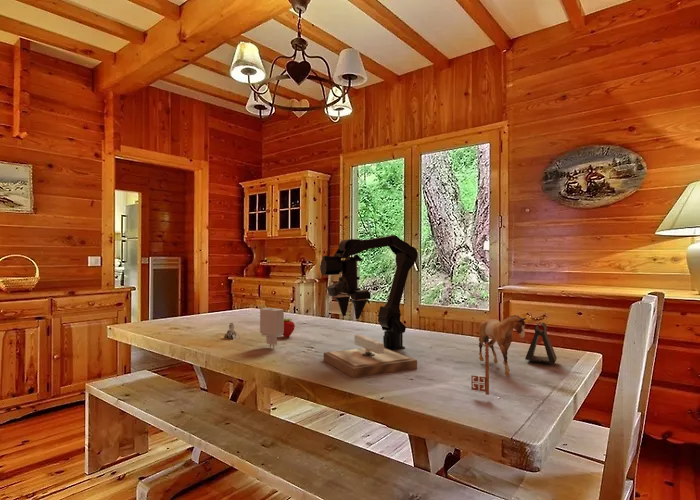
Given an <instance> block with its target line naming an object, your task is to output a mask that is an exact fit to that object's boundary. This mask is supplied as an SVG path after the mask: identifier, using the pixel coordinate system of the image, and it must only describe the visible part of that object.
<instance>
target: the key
mask: <svg viewBox="0 0 700 500" xmlns="http://www.w3.org/2000/svg"><path fill="white" fill-rule="evenodd" d="M484 335H488V336H491V337H492V338H493V340H494V342H493V344H491V345H488V342H486V344H485V343H484V342H483V343H482V342H481V337H482V336H484ZM478 342H479V343H481V344H482V345H483V346H484V347H485V349H484V350H485V353H484V357H485V359H484V362H485V363H484V365H485V366H484V367H485V369H484V370H485V371H484V372H485V376H479V375H473V374H472V375H471V377H470V380H471V388H470V389H471V390H472V391H480V392H485V395H487V396H489V395H490V352H489V349H490V348H489V346H492V345H493V346H494V345H495V343H496V342H495V338H494V337H493V336H492V335H490V334H483V335H481V336H480V335H479V337H478Z"/></svg>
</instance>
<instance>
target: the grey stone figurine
mask: <svg viewBox="0 0 700 500" xmlns="http://www.w3.org/2000/svg"><path fill="white" fill-rule="evenodd" d="M234 325H235V324H234V322H229V325H228V326H229V327H228V328H229V329H227V332H226V333H225V334H224V338H226V339H227V338H228V339H230V340H238V339H240V337H239V336H240V335H239V332H238V331H236V330H235V326H234Z"/></svg>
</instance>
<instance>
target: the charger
mask: <svg viewBox="0 0 700 500" xmlns="http://www.w3.org/2000/svg"><path fill="white" fill-rule="evenodd" d="M284 312H285V311H284V309H283V308H273V307H264V308H263V307H262V308H260V309H259V333H260V334H261V335H262V336H266V341H265V342H266V344H268V345H269V348H270V349H271V348H272V349H275V346H276V345H278V337H282V336H283V333H284V319H285V318H284V317H285V313H284Z"/></svg>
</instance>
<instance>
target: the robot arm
mask: <svg viewBox="0 0 700 500" xmlns="http://www.w3.org/2000/svg"><path fill="white" fill-rule="evenodd" d="M384 247H389V249H390V251H391V252H392V253H393V254H395V265H396V266H395V267H396V269H395V271H394V272H395V273H394V276H393V280H392V284H391V288H390V290H389V294H388V299H387V302H386V303H385V305H380V307H379V309H378V313H377V321H378V324H379V325H380V326H381V329H382V331H384V332H383V334H384V335H383V338H382V341H383V342H382V343H384V348H387V349H389V350H392V351H394V350H401V349H406V346H403V345H404V344H403V343H404V341H403V340H404V338H403V337H404V336H403V334H404V333H406V328H407V327H406V325H404V324H403V322H402V321H401V315H402V314H401V309H400V308H401V307H400V306H401V301H402V298H403V294H404V290H405V286H406V283H407V279H408V276H409V275H408V274H409V273H410V270H411V269H412V267H413V266H414V265H415V263H416V261H417V259H418V255H419V252H418V251H417V248H416V247H415V246H412V245H410V244H409V243H408V242H406V241H405V240H402V239H401V238H400V237H399V236H397V235H395V234H391V235H386V236H381V237H373V238H368V239H357V238H349V239H348V238H347V239H343V240H341V241H340V242H339V244H338V248H337V249H336V251H335V253H334V254H333V255H331V256H330V255H322V259H321V261H320V265H319V270H320V271H319V272H320V273H321V276H336V275H340V274H341V276H339V277H338V281H337V282H334V283H332V284H330V285H328V286H326V290H327V292H328V296H330V297H332V298H333V299H334V300H335V301H336V302H337V303H338V307H339V310H340V312H341V315H342V317H346V315H347V311H348V308H349V307H348V306H349V302H351V303H352V304H353V311H354V317H355V320H360V317H361V315H362V312H363V310H364V308H365V307H366V304H367V302H368V301H369V299H370V300H371V298H372V296H371V295H372V294H371V292H370V291H369V290H366V289H361V288H360V287H358V286H359V285H358V280H361V277H360V276H358V262H362V261H363V258H361V257H360V256H359V254H360V253H362V252H365V251H367V250H373V249H378V248H379V249H380V248H384Z"/></svg>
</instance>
